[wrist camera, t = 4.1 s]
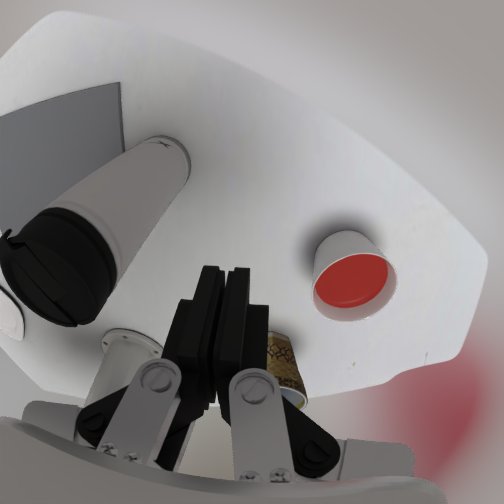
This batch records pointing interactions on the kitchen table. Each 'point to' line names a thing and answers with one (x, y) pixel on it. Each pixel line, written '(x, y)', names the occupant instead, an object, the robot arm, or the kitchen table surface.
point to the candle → (351, 278)
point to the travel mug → (93, 233)
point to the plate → (10, 317)
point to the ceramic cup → (285, 369)
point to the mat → (55, 149)
